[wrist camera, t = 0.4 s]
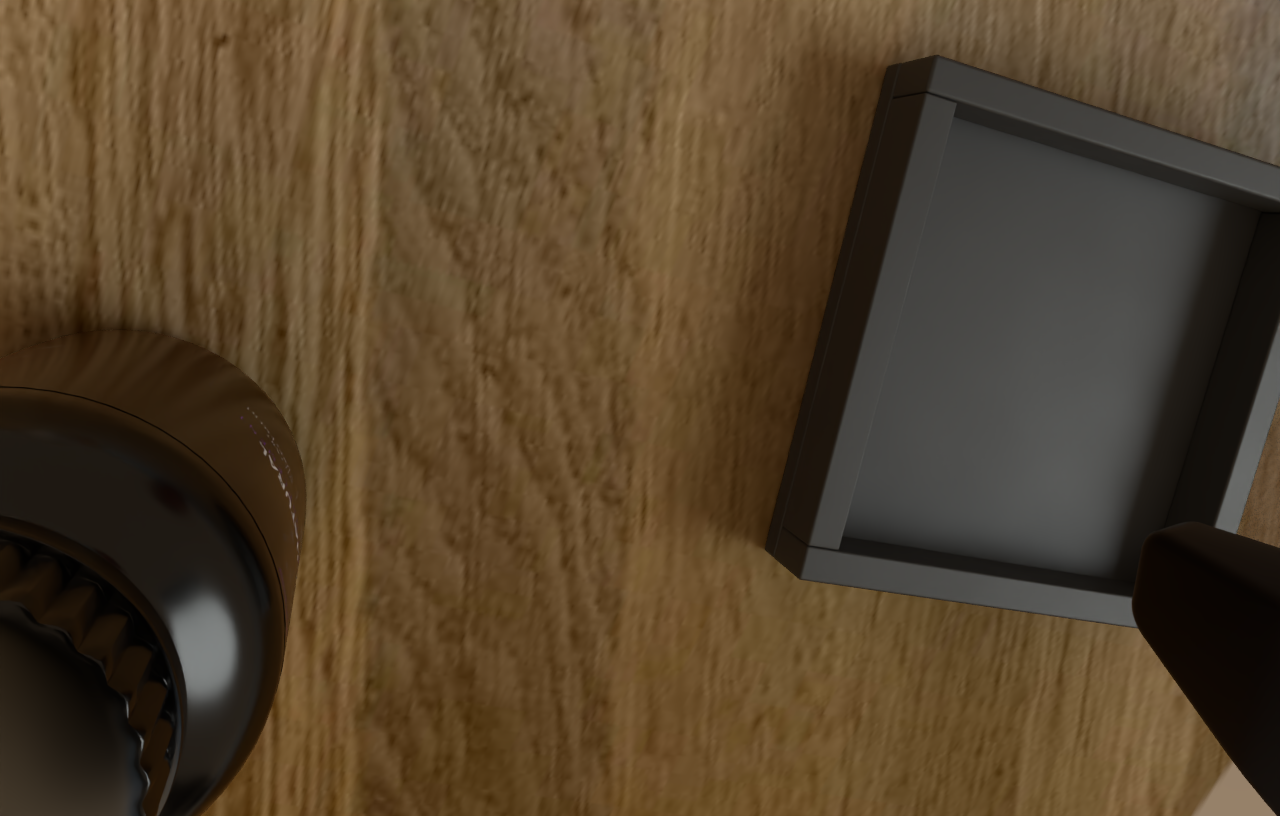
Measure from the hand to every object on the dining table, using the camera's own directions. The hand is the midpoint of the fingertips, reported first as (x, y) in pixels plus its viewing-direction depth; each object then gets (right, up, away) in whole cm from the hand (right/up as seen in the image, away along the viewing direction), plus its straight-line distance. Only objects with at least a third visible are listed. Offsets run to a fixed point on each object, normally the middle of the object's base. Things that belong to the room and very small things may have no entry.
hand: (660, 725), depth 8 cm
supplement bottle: (-10, +1, +13) cm, 17 cm away
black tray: (+10, +4, +18) cm, 21 cm away
